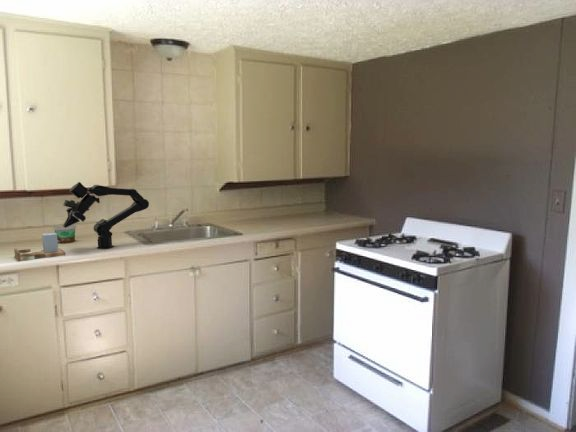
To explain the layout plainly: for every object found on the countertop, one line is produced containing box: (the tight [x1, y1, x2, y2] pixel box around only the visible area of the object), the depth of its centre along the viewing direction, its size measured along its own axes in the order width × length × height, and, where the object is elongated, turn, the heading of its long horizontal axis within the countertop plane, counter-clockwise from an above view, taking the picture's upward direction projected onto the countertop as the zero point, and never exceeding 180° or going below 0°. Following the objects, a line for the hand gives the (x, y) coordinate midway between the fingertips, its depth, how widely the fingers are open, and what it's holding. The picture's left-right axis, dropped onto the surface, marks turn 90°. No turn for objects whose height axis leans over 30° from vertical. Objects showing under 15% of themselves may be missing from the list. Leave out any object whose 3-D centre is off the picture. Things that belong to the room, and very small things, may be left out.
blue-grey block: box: [41, 232, 59, 253], centre depth 239 cm, size 6×5×9 cm
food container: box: [52, 224, 77, 244], centre depth 269 cm, size 12×6×10 cm, turn 126°
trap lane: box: [14, 247, 66, 262], centre depth 236 cm, size 21×12×4 cm, turn 127°
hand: (64, 226), depth 242 cm, fingers closed
